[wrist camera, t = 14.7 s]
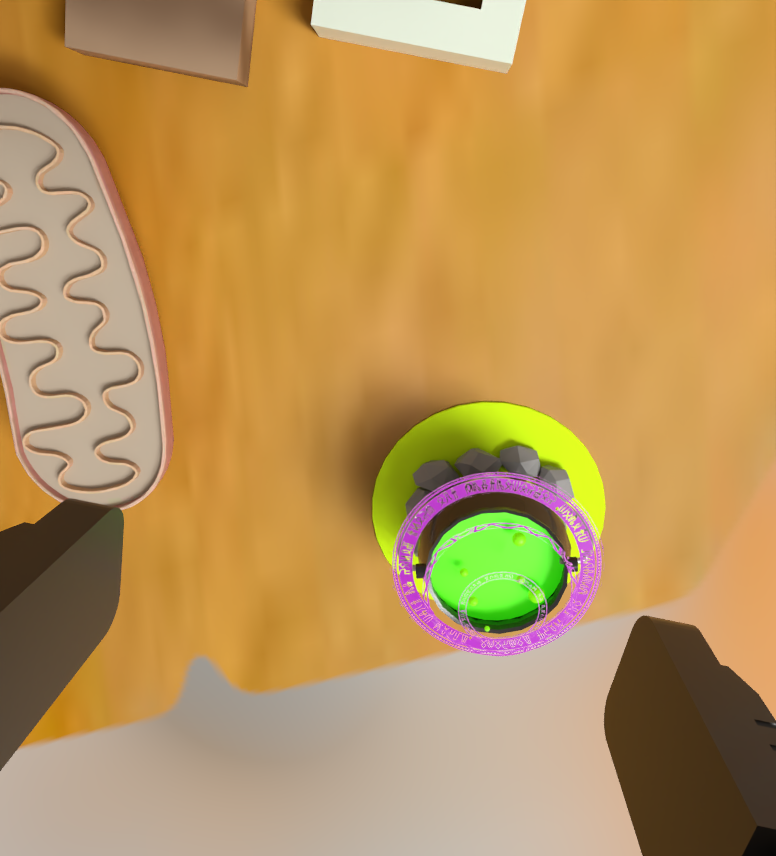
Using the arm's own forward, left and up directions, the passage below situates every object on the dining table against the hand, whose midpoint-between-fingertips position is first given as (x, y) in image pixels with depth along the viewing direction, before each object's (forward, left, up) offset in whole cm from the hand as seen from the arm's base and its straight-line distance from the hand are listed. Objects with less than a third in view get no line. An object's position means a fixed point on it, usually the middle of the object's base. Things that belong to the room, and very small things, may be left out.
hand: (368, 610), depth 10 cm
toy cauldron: (+7, -12, -30) cm, 33 cm away
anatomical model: (-19, -4, -30) cm, 36 cm away
